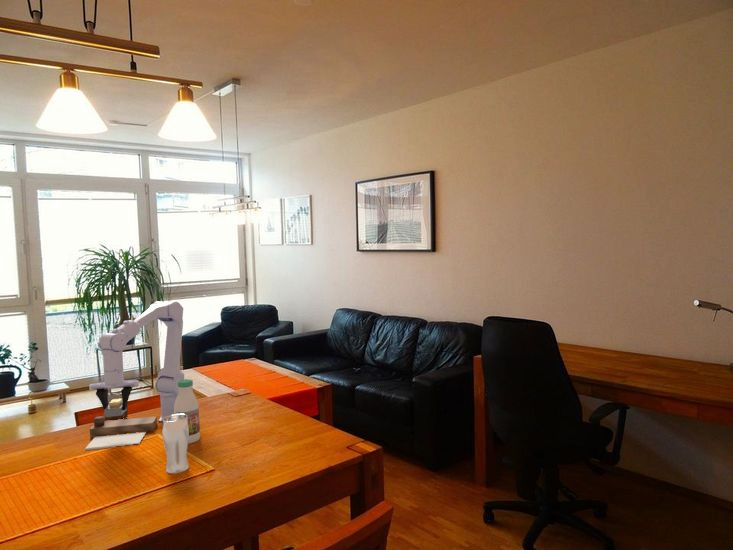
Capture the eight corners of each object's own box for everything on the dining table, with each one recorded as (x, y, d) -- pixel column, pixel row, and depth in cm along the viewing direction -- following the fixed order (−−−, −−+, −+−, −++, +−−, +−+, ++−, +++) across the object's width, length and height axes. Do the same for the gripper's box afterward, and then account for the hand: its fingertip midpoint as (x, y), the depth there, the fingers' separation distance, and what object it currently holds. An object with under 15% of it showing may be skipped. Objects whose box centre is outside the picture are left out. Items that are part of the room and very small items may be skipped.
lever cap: (126, 409, 165) (126, 397, 165) (121, 415, 158) (120, 403, 158) (110, 410, 164) (110, 398, 164) (104, 417, 157) (103, 404, 157)
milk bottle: (169, 443, 158) (167, 382, 157) (187, 435, 165) (184, 376, 164) (188, 446, 155) (185, 384, 154) (205, 437, 162) (202, 378, 161)
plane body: (157, 424, 176) (156, 409, 176) (153, 431, 169) (152, 415, 169) (96, 430, 172) (95, 415, 171) (90, 437, 165) (89, 421, 165)
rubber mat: (146, 433, 167) (146, 431, 167) (139, 444, 158) (139, 442, 158) (95, 438, 164) (95, 436, 164) (85, 450, 154) (85, 448, 154)
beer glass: (165, 476, 134) (163, 423, 133) (163, 467, 140) (161, 416, 140) (192, 471, 137) (189, 418, 137) (188, 461, 143) (186, 411, 143)
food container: (94, 419, 184) (92, 393, 183) (109, 414, 189) (108, 389, 188) (115, 424, 178) (113, 397, 177) (130, 419, 183) (128, 392, 183)
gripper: (85, 374, 155) (87, 416, 155) (134, 370, 158) (136, 411, 158) (92, 369, 161) (94, 409, 162) (139, 365, 165) (141, 405, 165)
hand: (115, 410), depth 161 cm, fingers closed on lever cap, 5 cm apart
